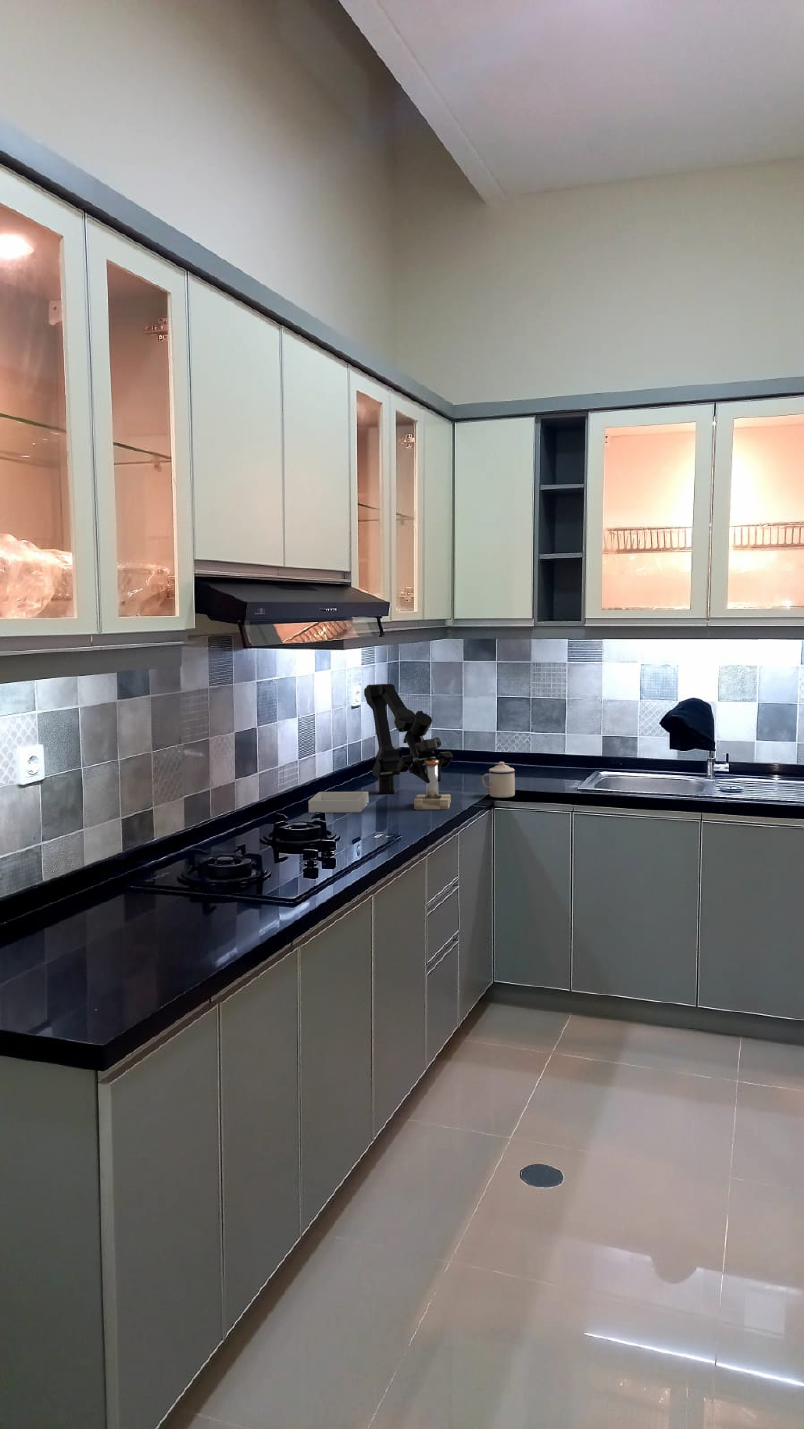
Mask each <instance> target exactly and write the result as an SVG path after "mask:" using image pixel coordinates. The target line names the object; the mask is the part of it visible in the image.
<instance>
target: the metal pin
mask: <svg viewBox="0 0 804 1429" xmlns="http://www.w3.org/2000/svg"><path fill="white" fill-rule="evenodd" d="M424 764H426V765H425V772H426V774H427V777H428V779H429V783H426V782H425V791H426V792H425V795H426V799H439V782H438V764H439V760H424Z"/></svg>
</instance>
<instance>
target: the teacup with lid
mask: <svg viewBox="0 0 804 1429" xmlns="http://www.w3.org/2000/svg"><path fill="white" fill-rule="evenodd" d="M515 772H516V769H514V768H513V767H510V766H509V765H507V764H505V762H504V761H499V762H498V764H497V765H495V766H494V767H491V768H489V769H488V773H485V774H484V775H483V776H482V777H481V782H482V784H483V786H484V787H485V788H487V789H489V796H490V797H491V798H492V797H493V798H498V799H499V798H500V799H501V798H512V797H514V796H515V794H516V789H515V788H516V787H515V786H516V784H515V781H516V780H515ZM486 777H488V779H489V785H488V784H487V783H486V780H485V779H486Z"/></svg>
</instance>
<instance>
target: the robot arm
mask: <svg viewBox="0 0 804 1429" xmlns="http://www.w3.org/2000/svg"><path fill="white" fill-rule="evenodd" d="M363 695H364V697H365V701H366V704H367V705H368V706H369V708H370V709H371V710H372V715H373V716H372V717H373V720H374V726H375V727H374V728H375V732H376V733H375V734H376V738H377V744H378V750H377V753H376V755H375V756H376V757H375V763H374V765H373V767H372V769H371V771H372V776H374V777H378V778H377V779H378V780H377V781H378V790H377V791H376V794H395V793H396V792H397V791H398V790H397V789H396V787H395V783H396V782H395V776H400V774H401V773H407V772H409V773H410V774H412V775H415V776H416V777H417V778H419V779H420V780H422V781H423V782H424V783H425V784H426V783H429V779H428V777H427V774H426V769H424V766H426V764H424V760H439V764H438V783H441V781H442V778H441V777H442V776H441V774H442V772H441V769H446V768H449V765H450V764H451V762H452V760H453V758H454V756H453V753H451V751H442V752H441V751H440V752H438V755H437V756H434V754H435V750H436V749H438V748H440V747H441V746H442V740H441V739H440V737H439V736H437V737H433V738H429V739H425V738H424V736H426V734H427V733H428V732H429V729H430V728H431V725H432V724H433V718H432V717H431V716H430V715H429V714H427V713H424V711H423V710H417V711H416V713H415V712H414V711H413V710H411V709H409V708H407V707H406V705H405V703H404V702H403V700H402V699H401V697H400V695H399V694H398V692H397V691H396V686H395V685H394V684H392V683H379V684H378V683H375V684H374V683H373V684H367V685H366V687H364V689H363ZM387 706H388V708H389V709H390V711H391V713H392V714H393V717H394V722H393V723H394V726H395V728H396V729H397V732H399V733H405V735H404V738H403V742H402V743H403V744H407V746H408V749H409V754H408V755H401V757H400V751H399V750H398V749H395V748H394V746H393V743H392V736H391V730H390V725H389V724H390V723H389V719H388V718H389V717H388V712H387ZM408 770H409V771H408Z"/></svg>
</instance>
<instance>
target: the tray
mask: <svg viewBox="0 0 804 1429" xmlns="http://www.w3.org/2000/svg"><path fill="white" fill-rule="evenodd" d="M367 803H368V804H369V791H319V792H317V793H316V794H315V795H313V797H311V798H310V799H309V800H308V813H315V812H322V813H361V812H362V811H363V810H364V809H365V808H366V806H368V804H367Z"/></svg>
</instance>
